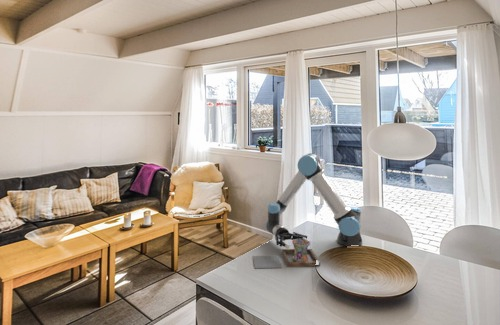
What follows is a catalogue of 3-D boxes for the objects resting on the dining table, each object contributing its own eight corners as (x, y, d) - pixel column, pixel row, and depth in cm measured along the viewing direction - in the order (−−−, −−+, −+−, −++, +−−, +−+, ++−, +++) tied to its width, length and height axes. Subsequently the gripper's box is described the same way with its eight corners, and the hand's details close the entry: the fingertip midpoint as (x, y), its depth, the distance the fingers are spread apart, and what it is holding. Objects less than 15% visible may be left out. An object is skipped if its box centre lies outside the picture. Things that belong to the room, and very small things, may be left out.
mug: (310, 264, 157) (311, 245, 155) (293, 264, 157) (293, 245, 155) (306, 254, 169) (306, 236, 167) (290, 254, 169) (290, 236, 167)
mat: (277, 256, 166) (277, 255, 166) (281, 268, 152) (281, 267, 152) (253, 256, 165) (253, 256, 165) (254, 268, 151) (254, 267, 151)
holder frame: (311, 252, 172) (311, 248, 172) (319, 266, 155) (320, 262, 154) (281, 252, 171) (282, 249, 171) (287, 266, 154) (287, 263, 153)
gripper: (298, 235, 186) (317, 248, 167) (262, 241, 177) (279, 255, 157) (298, 224, 186) (318, 235, 166) (262, 229, 176) (279, 242, 156)
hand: (299, 245), depth 162 cm, fingers open, 13 cm apart
